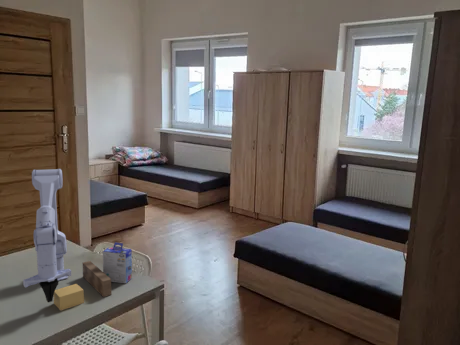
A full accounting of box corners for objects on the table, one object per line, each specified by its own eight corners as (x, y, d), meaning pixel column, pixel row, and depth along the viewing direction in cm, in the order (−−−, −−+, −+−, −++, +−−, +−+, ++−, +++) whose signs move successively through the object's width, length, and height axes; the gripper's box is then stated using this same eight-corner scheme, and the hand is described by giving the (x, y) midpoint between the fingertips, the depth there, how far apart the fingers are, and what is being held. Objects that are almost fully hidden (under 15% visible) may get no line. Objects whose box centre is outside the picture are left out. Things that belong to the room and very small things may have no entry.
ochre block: (54, 304, 138) (53, 290, 138) (77, 296, 144) (76, 283, 143) (60, 311, 134) (59, 297, 133) (84, 303, 139) (83, 289, 139)
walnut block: (83, 277, 159) (82, 262, 158) (90, 275, 161) (90, 260, 159) (103, 297, 144) (102, 281, 142) (111, 294, 145) (111, 279, 144)
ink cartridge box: (132, 277, 159) (132, 243, 156) (126, 284, 154) (125, 248, 151) (109, 275, 161) (108, 240, 158) (102, 281, 156) (101, 245, 153)
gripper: (25, 272, 124) (28, 312, 127) (73, 261, 133) (75, 299, 136) (20, 264, 130) (23, 303, 132) (66, 254, 139) (68, 291, 141)
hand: (49, 300), depth 134 cm, fingers closed
